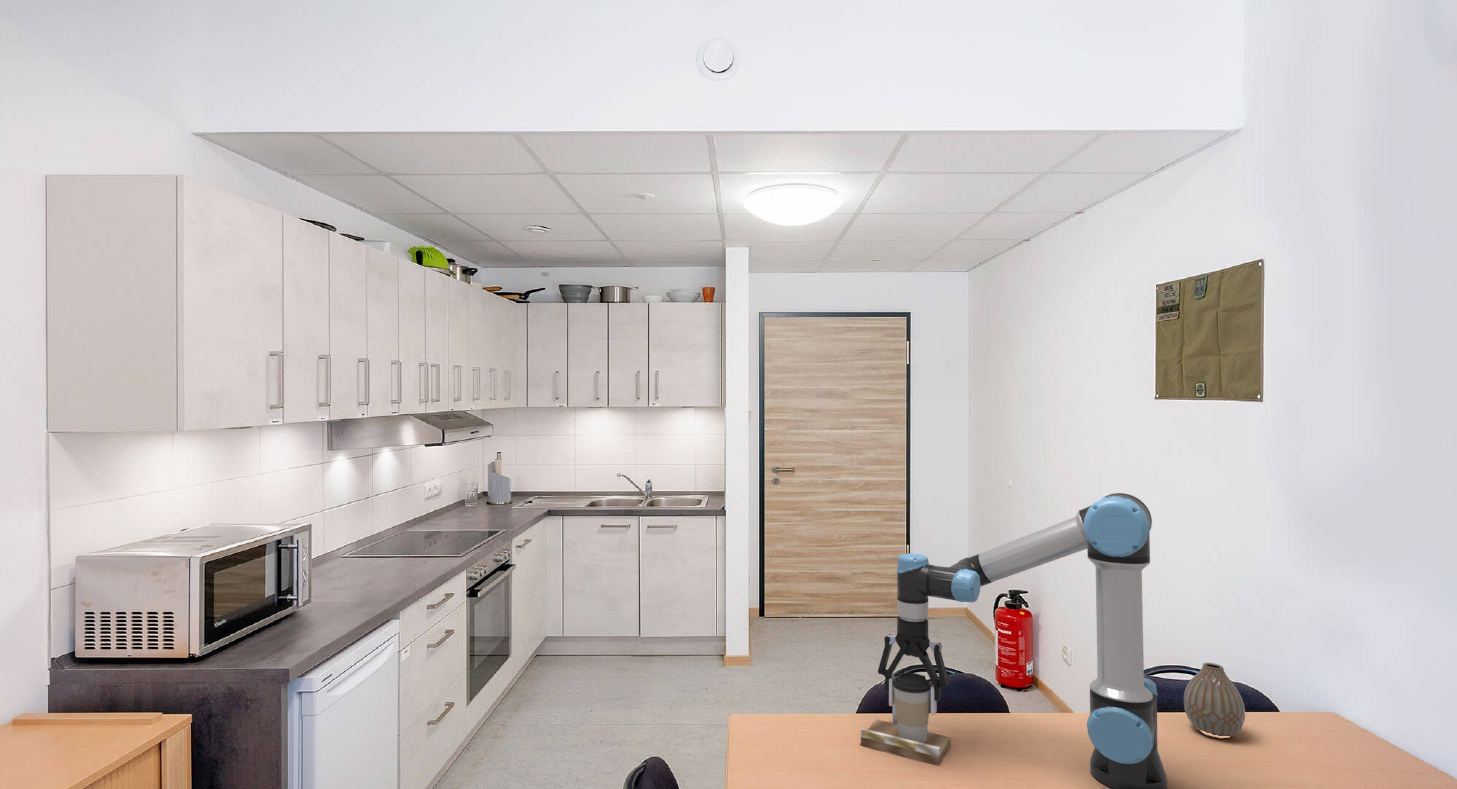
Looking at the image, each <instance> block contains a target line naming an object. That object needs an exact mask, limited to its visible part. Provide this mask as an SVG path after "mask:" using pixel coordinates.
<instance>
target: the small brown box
mask: <svg viewBox="0 0 1457 789" xmlns="http://www.w3.org/2000/svg"><path fill="white" fill-rule="evenodd" d="M951 739H952V738H951V736H947V735H943V734H940V733H939V734H938V733H935V732H932V731H931V732H930V731H927V740H926V742H924V743H920V742H916V741H912V740H908V739H904V738H900V737H899V733H898V724H894V723H893V722H889V721H885V720H882V719H878V718H877V719H875V720H874V722H873V723H872V724H871V725H870V726H869V727H868V728H863V727H862V728H861V729H860V746H862V747H867V748H870V749H875V750H878V751H881V752H885V753H887V754H889V753H890V754H893V755H897V756H900V757H904V758H908V759H912V760H915V761H919V762H923V763H927V764H931V765H935V766H940V764H941V763H942V762H943V759H944V757H945V756H946V754H947V752H948V750H949V749H950V748H951V745H952V743H951V741H952V740H951Z"/></svg>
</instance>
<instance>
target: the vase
mask: <svg viewBox="0 0 1457 789" xmlns="http://www.w3.org/2000/svg"><path fill="white" fill-rule="evenodd" d="M1224 668H1225V667H1224V666H1222V665H1221V664H1218V663H1214V662H1203V663H1202V666H1201V669H1200V670H1199V671H1198V672H1197V673H1196V674H1195V675H1194V676H1193V677H1191V679H1190V680H1189V682H1187V685H1186V687H1185V690H1184V693H1183V708H1184V711H1185V714H1186V716H1187V718H1188V720H1189V722H1190V723H1191V724H1192V725H1193V726H1194V728H1195V729H1197V728H1198V729H1200V730H1202V731H1205V732H1207V733H1211V734H1213V735H1218V736H1232V737H1233V736H1236V735H1237V734H1238V733H1239V732H1240V731H1241V729H1242V728H1243V726H1244V723H1245V718H1246V707H1245V702H1244V700H1243V696H1241V693H1240V691H1239V690H1238V688H1237V686H1236V685H1235V684H1234V682H1232V681H1231V679H1230V677H1228V676H1227V673H1226V672H1225V669H1224ZM1198 729H1197V730H1198Z"/></svg>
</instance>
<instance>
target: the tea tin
mask: <svg viewBox="0 0 1457 789" xmlns="http://www.w3.org/2000/svg"><path fill="white" fill-rule="evenodd" d="M892 723H894V724H898V722H897V717H896V708H895V703H894V704H893V706H892Z"/></svg>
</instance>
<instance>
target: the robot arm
mask: <svg viewBox="0 0 1457 789" xmlns="http://www.w3.org/2000/svg"><path fill="white" fill-rule="evenodd" d="M1152 525H1153V518H1152V514H1151V512H1150V509H1149V508H1148V507H1147V505H1146V504H1145V503H1144V502H1143V501H1142V500H1141V499H1139V498H1138V497H1136V496H1135V495H1132V494H1128V493H1124V492H1115V493H1114V492H1113V493H1110V494H1108V495H1106V496H1104V497H1102V498H1100V499H1098V500H1097V501H1095V502H1094V503H1092V504H1090V505H1089V506H1086V507H1084V508H1082V509H1079V510H1078V511H1077V513H1076V516H1074V517H1071V518H1068V519H1066V520H1063V521H1061V522H1058V523H1056V524H1052V525H1050V526H1048V527H1045V528H1043V529H1040V530H1037V531H1034V532H1032V533H1030V534H1027V535H1024V536H1021V537H1019V538H1016V539H1014V540H1011V541H1009V542H1006V543H1004V544H1001V545H998V546H995V547H993V548H990V549H988V550H985V551H982V552H979V553H978V554H975V555H972V556H970V557H969V556H968V557H964V558H962V559H959V561H957V562H956V563H954V564H953V565H951V566H949V567H947V566H940V565H939V566H938V565H933V564H930V562H929V558H928V556H927V555H925V554H920V553H903V554H900V555H899V556H898V558H897V569H896V576H897V577H896V581H897V583H896V584H897V586H896V590H897V591H896V592H897V595H896V596H897V601H896V602H897V604H896V611H897V612H896V615H897V616H898V617H897V618H896V631H897V632H896V635H892V634H890V633H889V634H886V635H885V636H884V648H883V651H882V654H881V659H880V662H879V665H878V668H877V673H878V675H882V676H884V679H885V680H884V683H885V685H884V687H885V691H888V706H889V707H893V704H894V703H895V698H894V694H895V690H894V686H893V683H894V681H895V679H896V676H895V675H893V674H894V672H895V670H896V668H898V665H899V664H900V662H901V660H902V659H903V657H904V656H908V657H911V656H912V657H914V658H918V659H919V661H920V662H921V663H922V666H923V667H924V669H925V671H926V673H927V676H928V678H929V679H930V681H931V683H932V685H931V686H930V687H931V689H930V716H935V714H936V713H937V712H938V710H937V708H938V707H937V706H938V704H937V702H939V701H940V700H941V698H942V688H946V687H947V686H948V685H949V682H950V681H949V677H948V674H947V669H946V665H945V662H944V658H943V655H942V646H943V645H942V643H941V642H937V643H936V642H934V641H933V642H931V640H930V638H929V620H928V618H929V597H933V598H937V599H938V598H939V599H944V600H951V601H955V602H960V603H975V602H977V601H978V599H979V596H980V593H981V587H983V586H986V585H989V584H992V583H993V582H997V581H999V580H1003V579H1006V578H1009V577H1011V576H1014V575H1017V574H1019V573H1022V572H1025V571H1028V570H1031V569H1034V568H1036V567H1039V566H1041V565H1045V564H1048V563H1051V562H1054V561H1057V560H1059V559H1062V558H1064V557H1068V556H1071V555H1073V554H1076V553H1079V552H1082V551H1085V550H1087V551H1086V552H1087V559H1088V560H1089V561H1090V562H1091V563H1092V564H1093V565H1094V567H1095V600H1096V602H1095V603H1096V606H1095V607H1096V609H1095V610H1096V612H1095V613H1096V614H1095V615H1096V616H1095V617H1096V660H1097V661H1096V662H1097V664H1096V666H1097V668H1096V669H1097V672H1096V673H1097V677H1096V679H1094V680H1092V682H1090V683H1089V716H1088V717H1087V721H1086V729H1087V735H1088V738H1089V740H1090V742H1091V743H1092V746H1094V749H1093V751H1092V754H1091V755H1090V756H1091V757H1090V760H1089V770H1090V771H1089V772H1090V774H1091V775H1092V777H1093V778H1094V779H1095V780H1097V781H1098V782H1100V784H1103V785H1104V786H1107V787H1108V788H1110V789H1168V777H1167V773H1166V771H1165V768H1164V765H1163V761H1162V760H1161V756H1160V754H1159V751H1158V749H1159V748H1158V697H1159V694H1158V691H1157V684H1156V683H1155V682H1154V680H1152V679H1150V678H1148V677H1145V672H1144V671H1145V670H1144V669H1145V668H1144V667H1145V666H1144V658H1145V657H1144V617H1143V616H1144V615H1143V614H1144V612H1143V608H1144V607H1143V570H1144V569H1145V568H1147V567H1148V565H1150V564H1151V546H1150V545H1151V543H1150V542H1151V539H1150V538H1151V537H1150V532H1151V529H1152ZM895 642H896V644H897V645H898V647H899V649H898V651H897V653H896V655H895V656H894V657H893V658H894V659H893V660H892V661H891V664H890V665H889V667H888V669H887V666H888V662H889V658H890V656H891V650H892V647H893V645H894V643H895ZM929 648H930V649H931V652H932V653H933V657H934V661H935V666H936V668H937V669H936V670H937V671H936V670H935V667H934V666H933V663H932V662H931V659H930V656H929V653H928V652H927V650H928V649H929Z"/></svg>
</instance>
